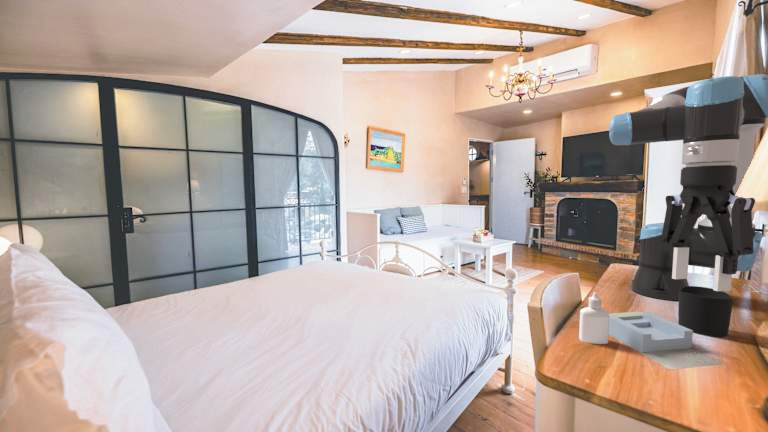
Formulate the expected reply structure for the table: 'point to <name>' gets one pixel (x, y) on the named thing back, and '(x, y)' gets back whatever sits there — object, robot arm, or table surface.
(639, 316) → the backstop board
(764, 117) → the robot arm
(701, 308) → the pen holder
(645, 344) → the cradle block
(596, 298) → the eye dropper bottle
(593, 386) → the table surface
